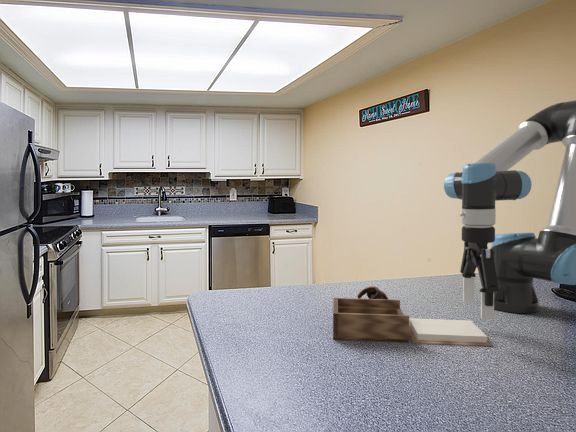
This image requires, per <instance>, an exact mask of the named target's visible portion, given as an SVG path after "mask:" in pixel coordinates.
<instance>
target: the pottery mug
mask: <svg viewBox="0 0 576 432" xmlns="http://www.w3.org/2000/svg"><path fill="white" fill-rule="evenodd" d="M364 295H366V296H367V299H389V298H388V296H387V294H386V293H385V292H384V291H382V290H380V289H379V287H376V286H374V285H373V286H368V287H365V288H363V289H362V290H360V291H359V292H358V294H357V296H356V298H357V299H362V297H363V296H364Z"/></svg>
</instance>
